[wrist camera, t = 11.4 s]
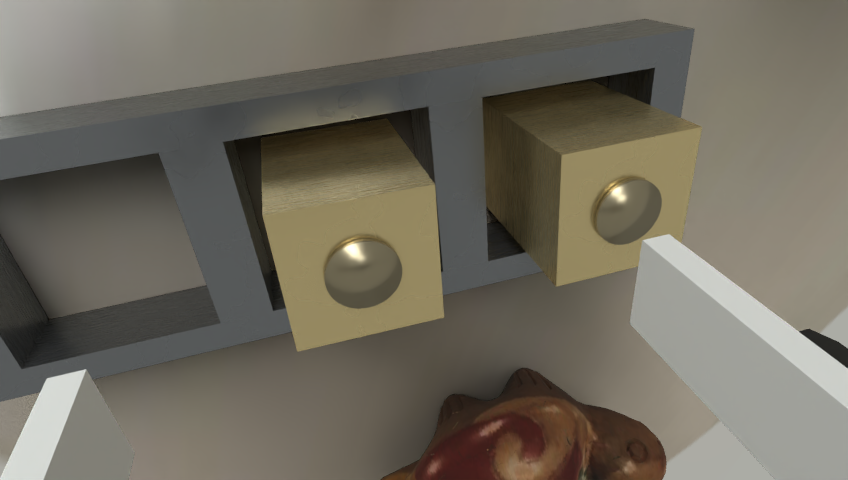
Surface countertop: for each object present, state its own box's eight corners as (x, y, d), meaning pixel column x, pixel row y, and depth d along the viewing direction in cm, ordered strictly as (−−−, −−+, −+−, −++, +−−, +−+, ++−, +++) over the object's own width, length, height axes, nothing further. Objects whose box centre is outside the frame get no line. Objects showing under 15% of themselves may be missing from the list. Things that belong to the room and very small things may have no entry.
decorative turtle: (614, 400, 35) (692, 520, 28) (403, 495, 35) (430, 634, 29) (587, 301, 29) (677, 421, 22) (335, 415, 29) (351, 566, 23)
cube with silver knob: (260, 137, 21) (262, 219, 15) (386, 118, 22) (437, 187, 16) (287, 247, 23) (297, 356, 17) (398, 225, 24) (446, 321, 18)
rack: (-114, 134, 17) (-177, 167, 15) (645, 19, 23) (694, 28, 20) (22, 350, 22) (-8, 403, 20) (623, 215, 27) (660, 243, 25)
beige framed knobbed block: (481, 98, 22) (565, 157, 16) (589, 80, 23) (707, 129, 17) (485, 204, 25) (559, 290, 19) (582, 184, 26) (683, 259, 20)
